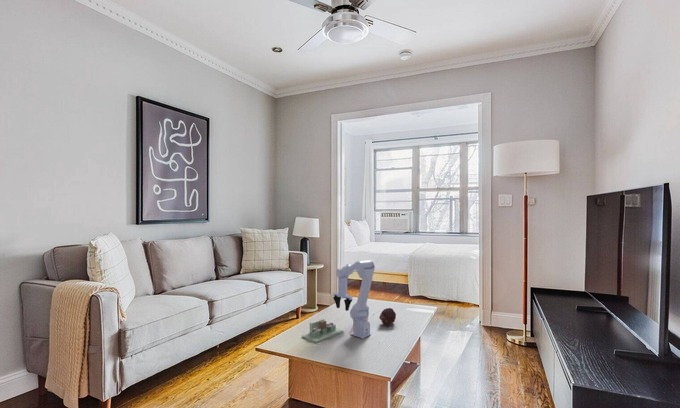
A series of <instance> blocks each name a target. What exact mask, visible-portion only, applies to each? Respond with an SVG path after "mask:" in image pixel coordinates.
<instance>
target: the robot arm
mask: <svg viewBox="0 0 680 408" xmlns="http://www.w3.org/2000/svg"><path fill="white" fill-rule="evenodd" d="M375 269H376V266H375V263H374V262H373V260H371V259H368V260H359V261H355V262H354V263H353V264H349V263H348V264H345V266H342V268H337V269H336V271H335V274H336V277H337V292H333V293H332V294H333V295H332V296H333V297H332V299H333V300H334V303H335V306H336V309H340V307H341V299H342V298H343V299H344V300H343V302H344V305H345V306H344V307H345V309H344V310H345V311H347V312H348V311H349V309H350V306H351V303H352V302H353V296H352V295H349V294H348V280H349V277H350V275H352V274H354V272H355V271H356V273H357V275H358V277H359V278H360V279H362V280H361V283H360V284H361V285H360V288H359V293H358V296H357V301H356V303H354V304H353V305H352V307H351V309H350V312H349V314H350V318H351V319H352V322H353V325H352V326H353V330H352V332H351V333H349V334H350V335H351V336H354V337H357V338H359V339H364V338H367V337H369V336H371V335H372V333H371V323H370V322H369V321H368V320H367V319H368V317H369V313H370V311H369V310H370V307H369V305H368V304H367V303H368V298H369V295H370V291H371V286H372V282H373V276H374V272H375Z"/></svg>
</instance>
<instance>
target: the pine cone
mask: <svg viewBox="0 0 680 408" xmlns="http://www.w3.org/2000/svg"><path fill="white" fill-rule="evenodd" d="M396 317H397V314H396V312H395V310H394V309H393V308H391V307H388V308H384V309H383V310H382V311H381V312H380V313H379V320H381V323H382V324H383V325H385V326H390V325H393V323H395V320H396V319H397V318H396Z"/></svg>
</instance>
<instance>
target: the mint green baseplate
mask: <svg viewBox="0 0 680 408" xmlns="http://www.w3.org/2000/svg"><path fill="white" fill-rule="evenodd" d="M321 320H324V321H325V318H319V319H317V320H313V321H309V333H305V334H303V335H301V338H303V339H304V340H308V341H311V342H313V343H314V344H318V343H320V342H323V341H325V340H328V339H330V338H333V337H336V336H338V335H340V334H341V335H342V333H344V329H339V328H336V324H334V323H333V325H332V327H326V328H325V329H321V331H318V332H316V331H315V332H312V329H314V328H318V327H319V321H321Z"/></svg>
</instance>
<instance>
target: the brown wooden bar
mask: <svg viewBox="0 0 680 408" xmlns="http://www.w3.org/2000/svg"><path fill="white" fill-rule="evenodd" d="M333 324H334V323H333V322H330V323H327V321H326V320H325V319H324V320H321V321H319V327H318V328H314V329H312V332H315V331H316V332H318V331H321V329H325V328H326V327H332V325H333Z"/></svg>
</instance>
